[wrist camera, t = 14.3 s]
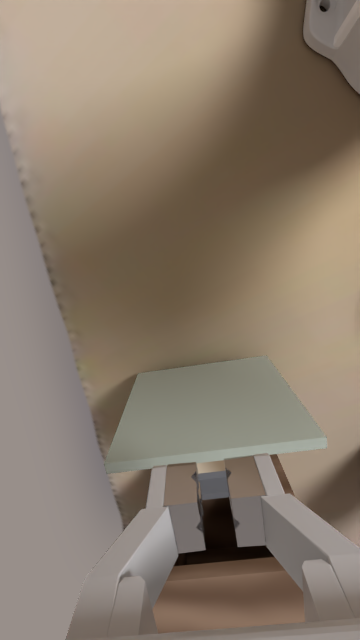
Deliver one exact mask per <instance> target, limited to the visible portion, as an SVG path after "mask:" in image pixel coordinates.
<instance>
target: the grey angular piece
mask: <svg viewBox="0 0 360 640" xmlns="http://www.w3.org/2000/svg"><path fill="white" fill-rule="evenodd" d="M324 448H327V437H326V435H325V434H324V433H323V431H322V430H321V429H320V427H319V426H318V425H317V423H316V422H315V420H314V419H313V418H312V416H311V415H310V414H309V412H308V411H307V410H306V408H305V407H304V405H303V404H302V403H301V401H300V400H299V399H298V397H297V396H296V395H295V393H294V392H293V391H292V389H291V388H290V386H289V385H288V384H287V382H286V381H285V380H284V378H283V377H282V376H281V374H280V373H279V371H278V370H277V369H276V367H275V366H274V365H273V363H272V362H271V361H270V359H269V358H268V356H267V355H266V356H259V357H252V358H244V359H237V360H230V361H223V362H216V363H209V364H201V365H194V366H187V367H180V368H173V369H166V370H158V371H151V372H144V373H138V375H137V378H136V380H135V383H134V385H133V388H132V391H131V393H130V396H129V399H128V401H127V404H126V407H125V409H124V412H123V415H122V417H121V420H120V422H119V425H118V428H117V430H116V433H115V436H114V438H113V441H112V444H111V446H110V449H109V452H108V454H107V457H106V460H105V462H104V466H105V469H106V473H107V474H110V473H119V472H127V471H136V470H144V469H152V468H153V466H160V465H168V464H179V463H190V462H196V463H204V462H213V461H221V460H224V459H225V458H233V457H241V456H249V455H255V454H262V453H268V454H269V455H272V454H281V453H290V452H298V451H307V450H315V449H324ZM198 479H199V482H200V486H201V493H202V500H208V499H217V498H227V497H229V492H228V485H227V478H226V472H225V471H217V472H209V473H200V474H198Z"/></svg>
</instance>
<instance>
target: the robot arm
mask: <svg viewBox="0 0 360 640" xmlns="http://www.w3.org/2000/svg"><path fill="white" fill-rule="evenodd" d="M319 6H323V7H325V9H326V12H322V11H321V10H320V8H319ZM303 36H304V40H305V42H306V43H307V45H308V46H309V47H311V48H312V49H313V50H315V51H316V52H318V53H319V54H321V55H323V56H325V57H327V58H329V59H331V60H332V61H333V62H334V63H335V64H336V65H337V67H338V68H339V69H340V71H341V72H342V74H343V75H344V77H345V78H346V80H347V81H348V82H349V84H350V85H351V86H352V87H353V88H354V89H355V90H356V91H357V92H358V93H359V94H360V0H307V1H306V9H305V18H304V26H303ZM224 465H225V472H226V478H227V485H228V492H229V499H230V505H231V511H232V516H233V522H234V528H235V534H236V539H237V545H238V547H246V546H262V545H266V547H267V548H268V549H269V551H270V552H271V553H272V554H273V555H274V557H275V558H276V559H277V560H278V562H279V563H280V564H281V565H282V566H283V568H284V569H285V570H286V571H287V573H288V574H289V575H290V576H291V578H292V579H293V580H294V581H295V582H296V584H297V585H298V586H299V587H300V589H301V590H302V591H303V597H304V613H305V622H301V623H288V624H276V625H263V626H250V627H237V628H224V629H211V630H199V631H186V632H173V633H160V634H158V630H157V626H156V622H155V618H154V614H153V611H152V609H153V607H154V605H155V603H156V601H157V599H158V597H159V595H160V593H161V591H162V588H163V586H164V584H165V582H166V580H167V578H168V576H169V574H170V572H171V570H172V568H173V566H174V564H175V562H176V560H177V558H178V554H179V553H187V552H195V551H202V550H206V546H205V529H204V522H203V515H204V513H203V501H202V493H201V486H200V482H199V479H198V469H197V463H196V462H190V463H179V464H168V465H160V466H153V468H152V470H151V477H150V483H149V489H148V496H147V502H146V508H145V509H141V510H140V511H139V512H138V514H137V515H136V516H135V517H134V518H133V520H132V521H131V522H130V523H129V525H128V526H127V527H126V528H125V530H124V531H123V532H122V533H121V534H120V536H119V537H118V538H117V539H116V541H115V542H114V543H113V544H112V546H111V547H110V548H109V549H108V550H107V552H106V553H105V554H104V555H103V557H102V558H101V559H100V560H99V562H98V563H97V564H96V565H95V567H94V568H93V569H92V570H91V571H90V573H89V574H88V575H87V576H86V578H85V579H84V582H83V585H82V588H81V591H80V595H79V598H78V601H77V605H76V608H75V611H74V614H73V617H72V621H71V624H70V627H69V630H68V633H67V636H66V640H360V548H359V547H358V546H356V545H355V544H354V543H353V542H351V541H350V540H349V539H347V538H346V537H345V536H344V535H342V534H341V533H340V532H339V531H337V530H336V529H335V528H333V527H332V526H331V525H330V524H328V523H327V522H326V521H324V520H323V519H322V518H321V517H319V516H318V515H317V514H315V513H314V512H313V511H312V510H310V509H309V508H308V507H307V506H305V505H304V504H303V503H301V502H300V501H299V500H298V499H296V498H295V497H294V496H292V495H291V494H290V493H289V494H285V493H284V490H283V488H282V485H281V483H280V480H279V478H278V475H277V473H276V470H275V468H274V465H273V463H272V460H271V458H270V455H269V454H268V453H262V454H255V455H249V456H241V457H233V458H225V459H224Z"/></svg>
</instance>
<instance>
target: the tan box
mask: <svg viewBox="0 0 360 640" xmlns="http://www.w3.org/2000/svg"><path fill="white" fill-rule="evenodd" d="M270 458H271V460H272V463H273V465H274V468H275V470H276V473H277V475H278V478H279V480H280V483H281V485H282V488H283V490H284V493H285V494H289V493H290V494H291V495H292V496H294V497H295V495H294V493H293V491H292V489H291V486H290V484H289V482H288V479H287V477H286V475H285V472H284V470H283V468H282V465H281V463H280V461H279V459H278V456H277V454H272V455H270ZM202 501H203V513H204V515H203V522H204V529H205V546H206V550H202V551H195V552H187V553H179V554H178V558H177V560H176V562H175V564H174V566H173V568H172V570H171V572H170V574H169V576H168V578H167V580H166V582H165V584H164V586H163V588H162V591H161V593H160V595H159V597H158V599H157V601H156V603H155V605H154V607H153V609H152V611H153V614H154V618H155V622H156V626H157V630H158V634H160V633H173V632H186V631H199V630H211V629H224V628H237V627H250V626H263V625H276V624H288V623H301V622H305V613H304V597H303V591H302V590H301V589H300V587H299V586H298V585H297V584H296V582H295V581H294V580H293V579H292V578H291V576H290V575H289V574H288V573H287V571H286V570H285V569H284V568H283V566H282V565H281V564H280V563H279V562H278V560H277V559H276V558H275V557H274V555H273V554H272V553H271V552H270V551H269V549H268V548H267V547H266V545H262V546H246V547H238V545H237V539H236V534H235V528H234V522H233V516H232V511H231V505H230V499H229V497H227V498H217V499H208V500H202Z"/></svg>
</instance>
